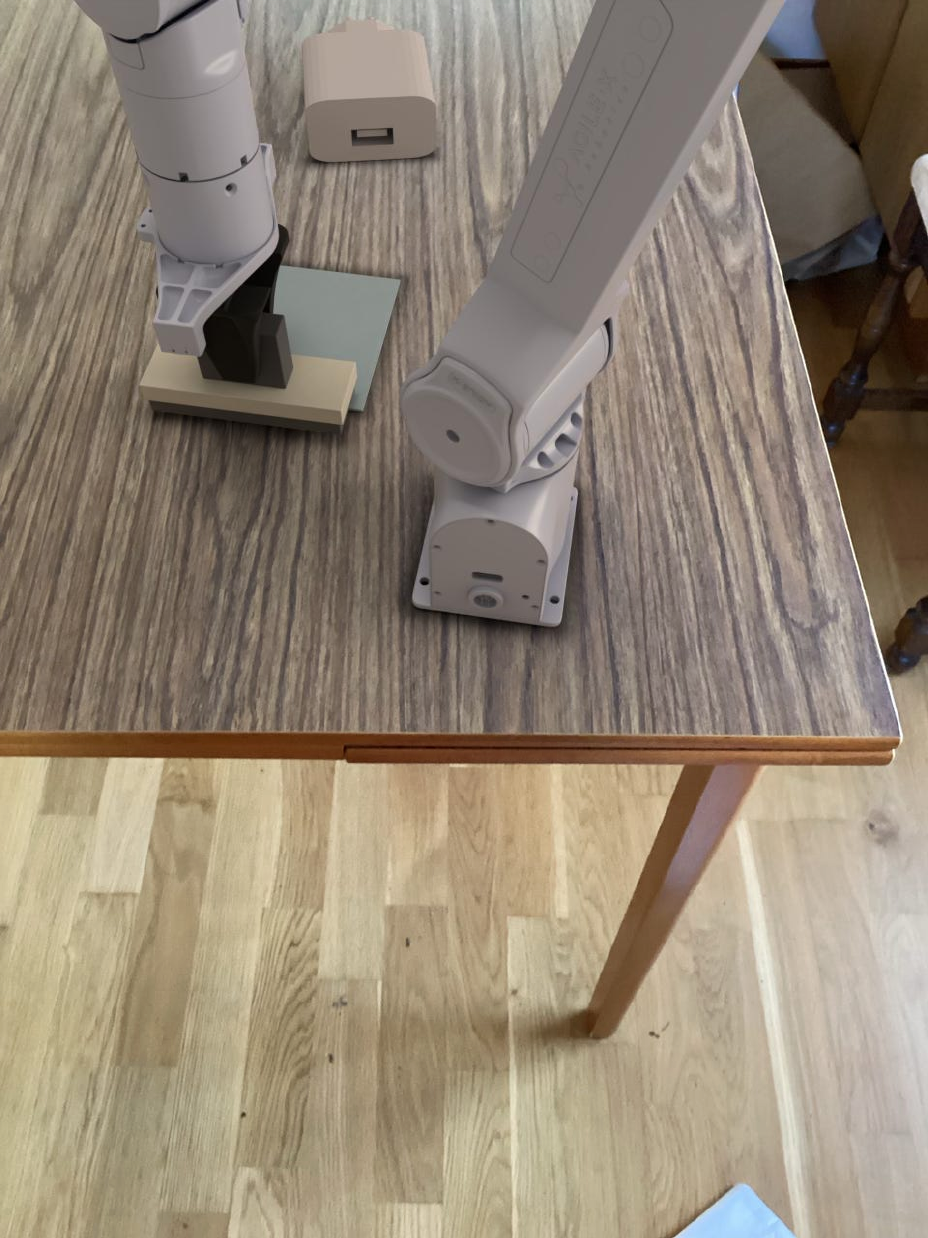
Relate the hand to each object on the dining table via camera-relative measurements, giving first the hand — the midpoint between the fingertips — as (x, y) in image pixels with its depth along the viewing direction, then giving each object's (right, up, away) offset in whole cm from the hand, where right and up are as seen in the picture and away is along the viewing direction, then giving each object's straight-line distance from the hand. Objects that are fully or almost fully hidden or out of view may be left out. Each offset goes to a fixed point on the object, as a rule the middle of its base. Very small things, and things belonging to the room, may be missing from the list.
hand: (246, 362), depth 59 cm
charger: (+5, +25, +20) cm, 33 cm away
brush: (0, -2, +3) cm, 3 cm away
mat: (+1, +4, +6) cm, 7 cm away
